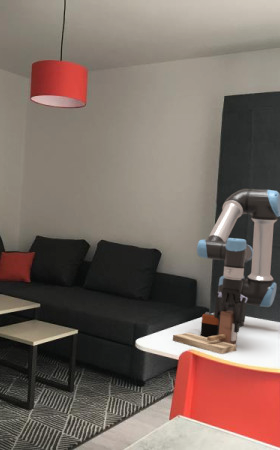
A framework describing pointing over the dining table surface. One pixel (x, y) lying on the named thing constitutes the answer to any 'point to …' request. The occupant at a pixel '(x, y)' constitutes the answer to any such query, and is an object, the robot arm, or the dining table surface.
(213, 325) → the battery
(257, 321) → the dining table surface
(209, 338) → the wooden mallet
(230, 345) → the board
